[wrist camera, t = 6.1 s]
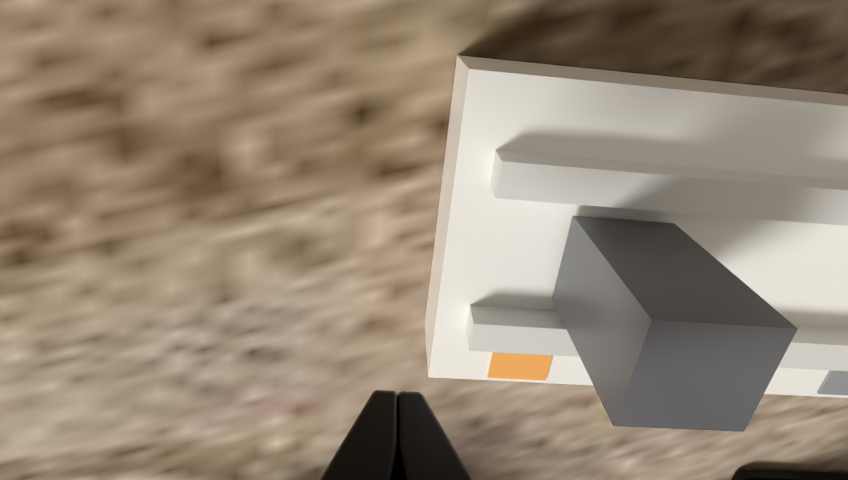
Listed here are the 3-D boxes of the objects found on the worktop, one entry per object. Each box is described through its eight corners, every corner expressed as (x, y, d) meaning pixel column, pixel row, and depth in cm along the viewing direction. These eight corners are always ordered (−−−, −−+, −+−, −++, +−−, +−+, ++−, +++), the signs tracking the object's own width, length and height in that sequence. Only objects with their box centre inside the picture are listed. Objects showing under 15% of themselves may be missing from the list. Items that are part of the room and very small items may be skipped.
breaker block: (993, 109, 17) (1156, 141, 13) (850, 348, 21) (942, 422, 17) (456, 55, 15) (473, 74, 12) (424, 324, 20) (429, 398, 16)
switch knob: (674, 223, 14) (797, 328, 10) (645, 304, 16) (744, 431, 11) (572, 215, 14) (652, 320, 10) (551, 298, 15) (613, 425, 11)
